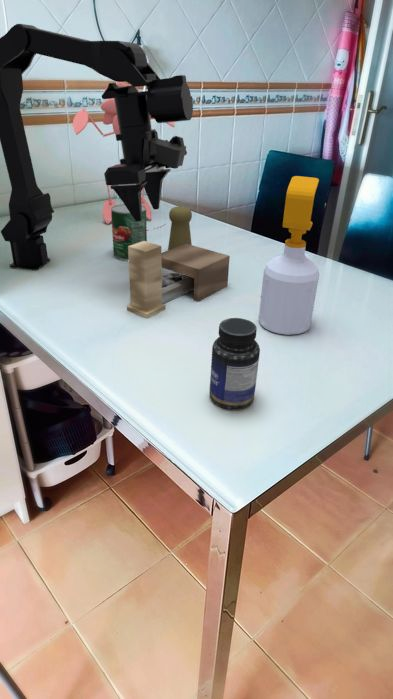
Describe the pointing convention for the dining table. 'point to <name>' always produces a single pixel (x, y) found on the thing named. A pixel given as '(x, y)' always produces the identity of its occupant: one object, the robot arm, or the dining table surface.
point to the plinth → (199, 268)
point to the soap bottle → (291, 267)
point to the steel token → (171, 279)
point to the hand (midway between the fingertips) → (147, 214)
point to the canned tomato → (126, 230)
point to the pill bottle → (234, 364)
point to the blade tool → (150, 281)
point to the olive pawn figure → (179, 227)
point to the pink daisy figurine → (108, 118)
